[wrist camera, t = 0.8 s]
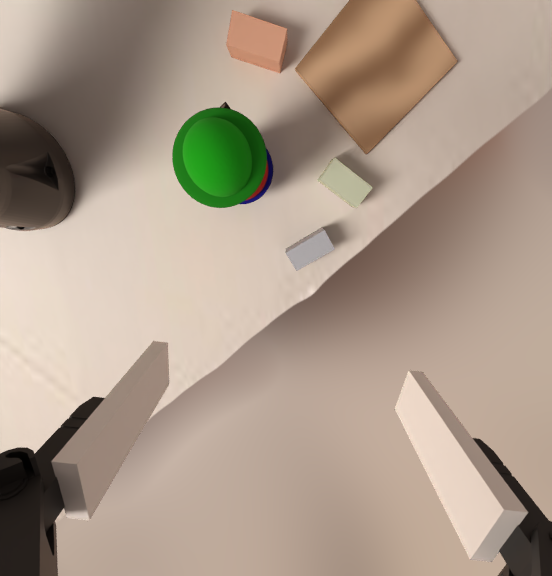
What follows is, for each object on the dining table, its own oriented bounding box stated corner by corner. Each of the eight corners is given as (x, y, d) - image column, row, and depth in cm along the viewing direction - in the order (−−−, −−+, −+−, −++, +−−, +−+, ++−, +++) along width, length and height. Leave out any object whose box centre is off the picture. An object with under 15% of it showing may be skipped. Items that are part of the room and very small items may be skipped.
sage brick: (317, 180, 36) (319, 179, 33) (331, 160, 35) (334, 157, 32) (351, 207, 37) (356, 208, 34) (366, 188, 36) (372, 187, 33)
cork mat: (295, 70, 31) (295, 68, 31) (383, -40, 28) (385, -45, 27) (365, 154, 34) (367, 153, 34) (454, 63, 30) (457, 61, 30)
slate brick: (296, 265, 40) (296, 270, 37) (285, 248, 39) (285, 252, 36) (331, 244, 39) (334, 249, 36) (321, 227, 38) (324, 229, 35)
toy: (224, 214, 38) (185, 227, 23) (196, 151, 35) (134, 124, 21) (283, 189, 36) (279, 188, 22) (259, 122, 33) (237, 71, 19)
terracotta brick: (231, 58, 31) (226, 44, 29) (237, 26, 30) (232, 10, 28) (280, 73, 32) (279, 62, 29) (287, 43, 31) (287, 28, 28)
